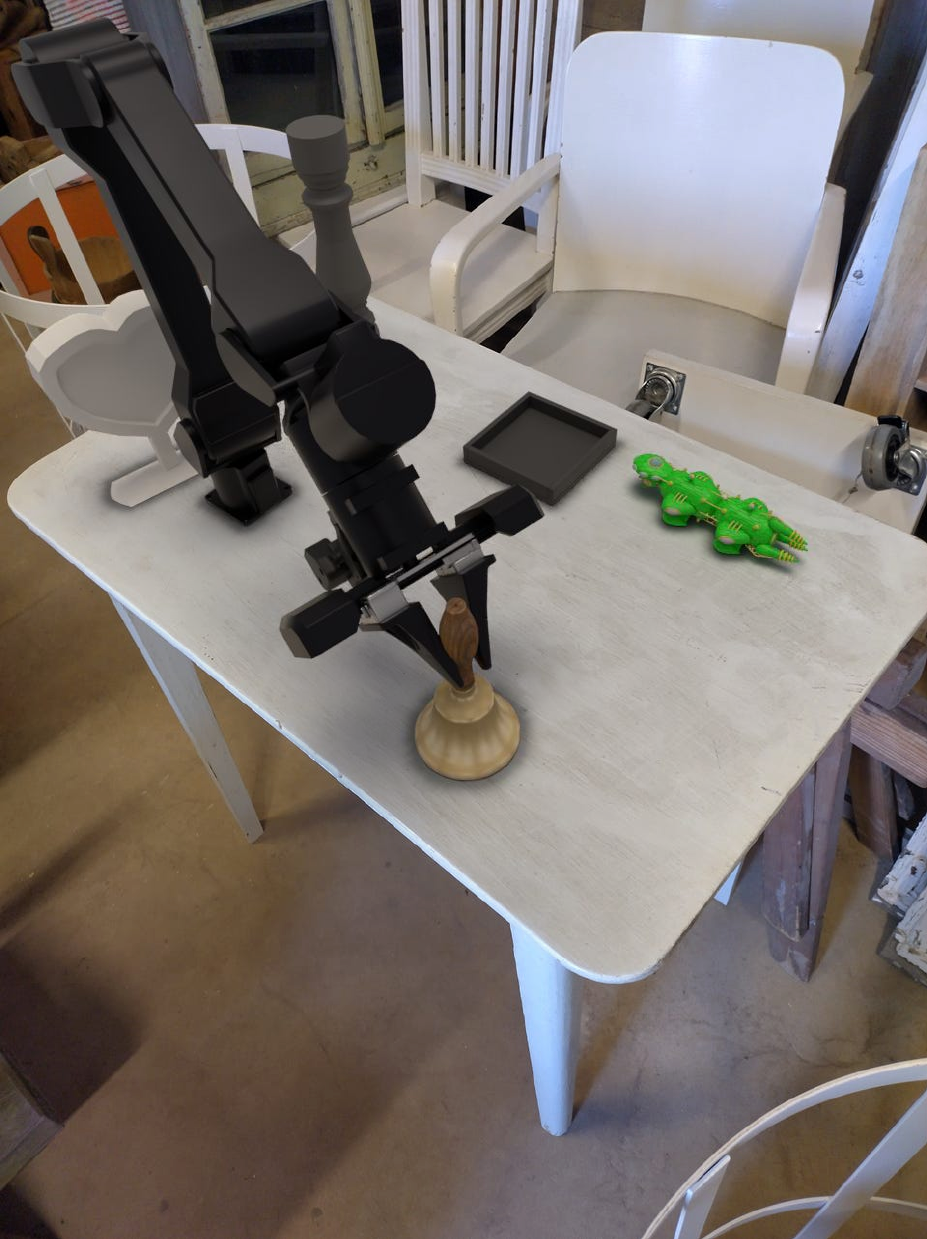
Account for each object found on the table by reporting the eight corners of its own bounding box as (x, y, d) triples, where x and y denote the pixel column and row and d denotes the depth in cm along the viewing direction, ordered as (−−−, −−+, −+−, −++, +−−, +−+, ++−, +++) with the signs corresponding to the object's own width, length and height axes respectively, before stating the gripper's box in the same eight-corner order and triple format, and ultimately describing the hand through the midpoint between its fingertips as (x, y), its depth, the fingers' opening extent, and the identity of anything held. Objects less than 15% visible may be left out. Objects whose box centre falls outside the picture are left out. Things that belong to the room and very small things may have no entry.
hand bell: (523, 690, 66) (521, 556, 53) (517, 784, 61) (514, 659, 48) (421, 686, 67) (396, 553, 54) (407, 777, 62) (376, 654, 49)
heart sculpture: (113, 516, 82) (28, 359, 68) (94, 490, 84) (8, 335, 70) (248, 448, 87) (196, 290, 73) (226, 426, 90) (171, 270, 76)
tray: (463, 462, 84) (462, 446, 82) (528, 407, 89) (528, 390, 87) (552, 506, 79) (553, 490, 77) (616, 445, 84) (617, 428, 82)
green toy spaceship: (651, 464, 82) (656, 429, 79) (816, 547, 74) (830, 513, 70) (611, 498, 79) (615, 464, 76) (778, 589, 71) (791, 555, 67)
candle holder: (342, 378, 94) (295, 146, 75) (323, 352, 98) (273, 124, 78) (391, 361, 96) (357, 129, 76) (370, 336, 99) (333, 108, 80)
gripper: (431, 440, 64) (523, 612, 67) (218, 555, 57) (330, 740, 60) (491, 402, 53) (597, 607, 56) (240, 537, 47) (374, 761, 50)
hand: (473, 678), depth 56 cm, fingers closed on hand bell
